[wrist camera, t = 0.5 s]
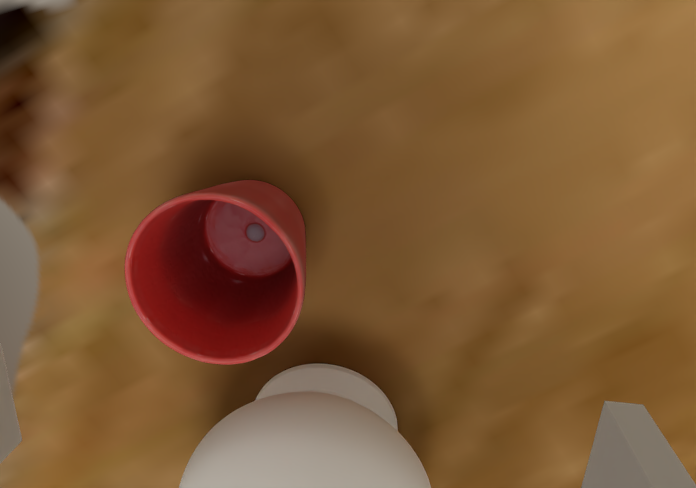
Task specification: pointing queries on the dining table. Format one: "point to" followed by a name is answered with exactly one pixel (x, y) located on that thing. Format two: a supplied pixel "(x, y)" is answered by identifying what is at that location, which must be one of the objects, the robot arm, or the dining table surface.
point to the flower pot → (220, 271)
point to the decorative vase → (308, 437)
